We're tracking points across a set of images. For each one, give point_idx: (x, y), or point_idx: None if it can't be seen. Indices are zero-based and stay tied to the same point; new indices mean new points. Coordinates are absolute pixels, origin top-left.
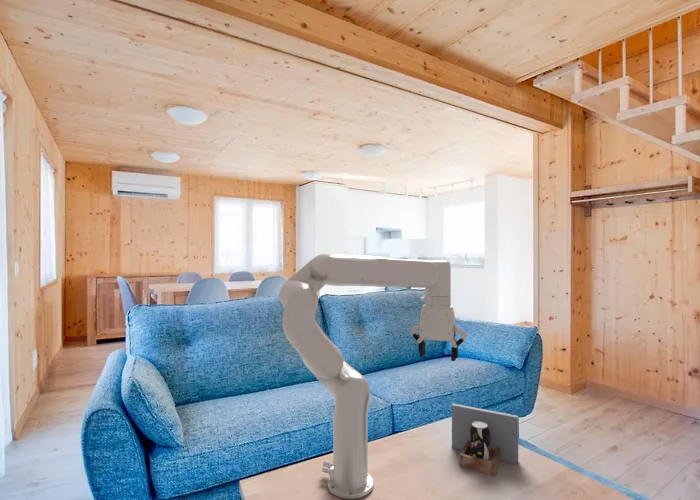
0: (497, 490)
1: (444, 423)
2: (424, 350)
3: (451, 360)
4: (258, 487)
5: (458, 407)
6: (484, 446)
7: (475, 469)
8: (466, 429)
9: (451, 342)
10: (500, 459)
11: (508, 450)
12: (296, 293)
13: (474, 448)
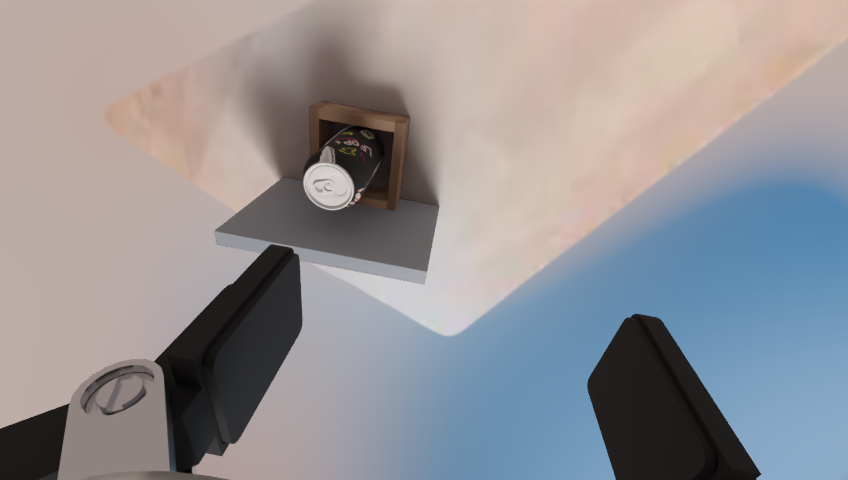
0: (304, 28)
1: (468, 313)
2: (610, 411)
3: (297, 254)
4: None
5: (404, 265)
6: (328, 141)
7: (368, 110)
8: (391, 225)
9: (137, 456)
10: None
11: (291, 191)
12: None
13: (360, 140)
